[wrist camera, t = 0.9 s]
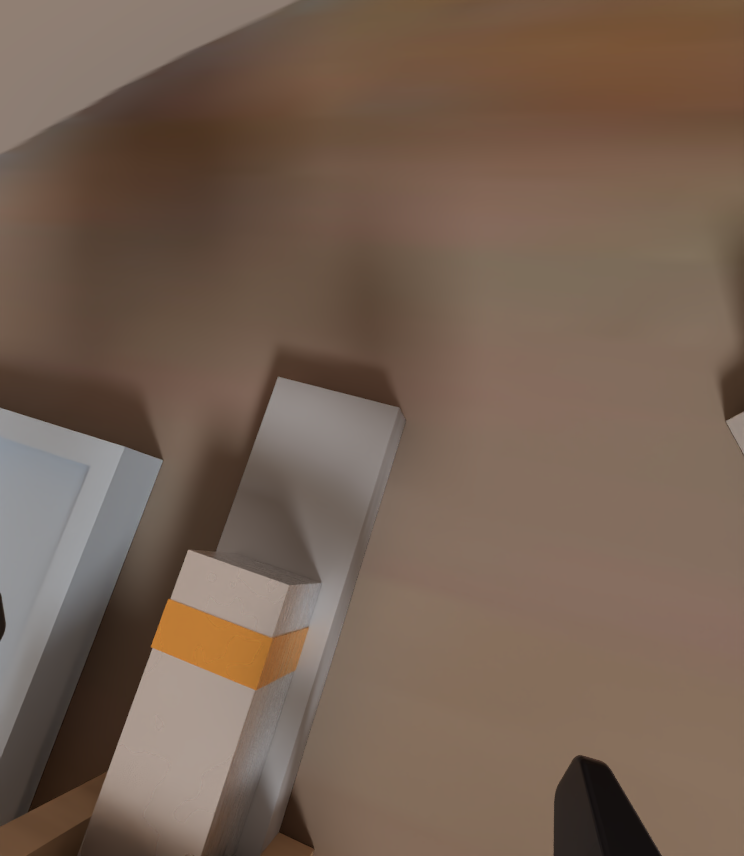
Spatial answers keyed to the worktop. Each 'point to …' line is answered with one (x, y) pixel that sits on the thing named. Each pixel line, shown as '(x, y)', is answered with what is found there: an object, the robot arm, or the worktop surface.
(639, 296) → the worktop surface
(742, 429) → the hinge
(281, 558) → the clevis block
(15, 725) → the tray
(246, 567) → the beige and orange bar
